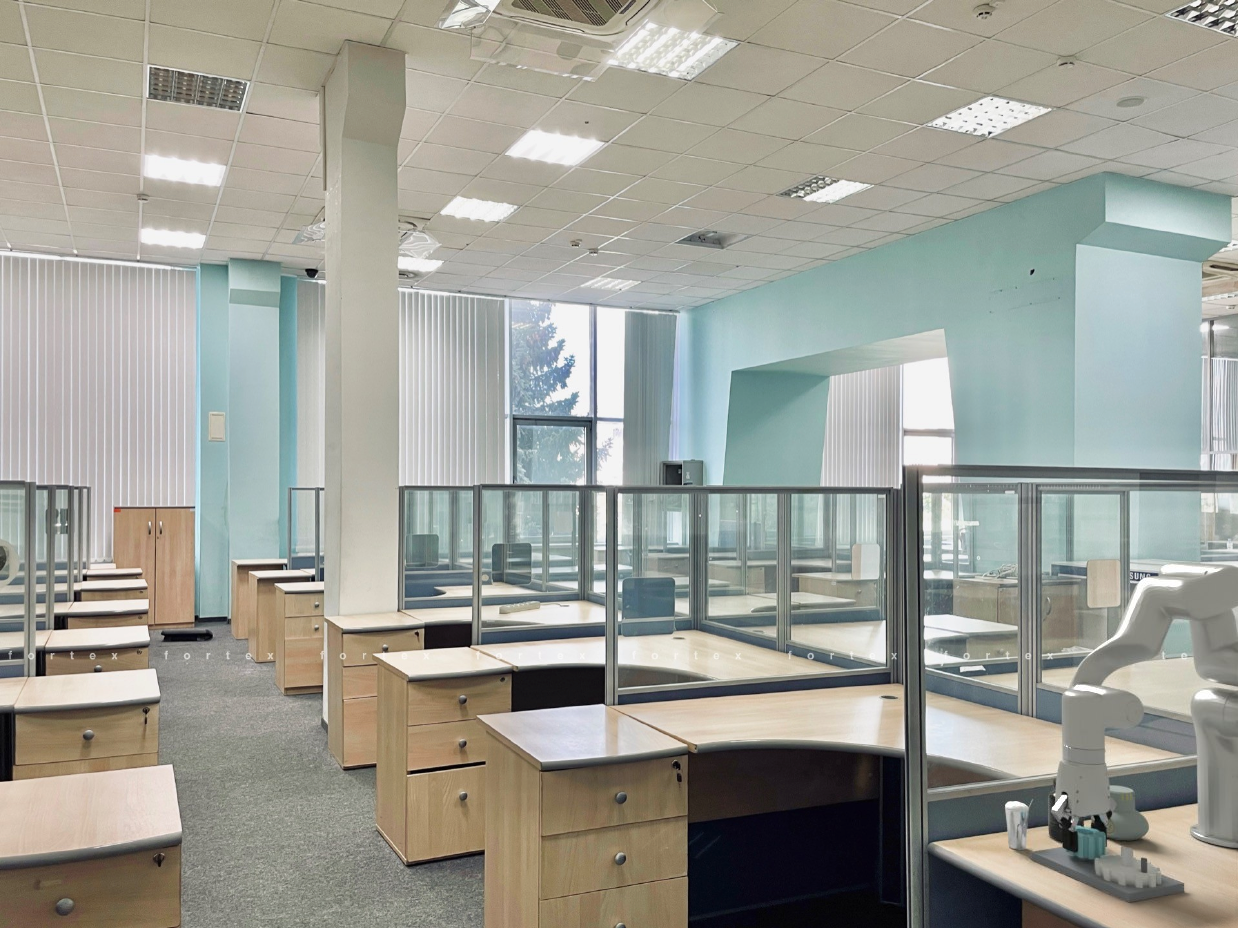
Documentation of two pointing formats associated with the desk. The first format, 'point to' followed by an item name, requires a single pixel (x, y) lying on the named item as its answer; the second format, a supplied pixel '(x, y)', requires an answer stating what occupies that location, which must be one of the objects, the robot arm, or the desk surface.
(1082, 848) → the gear
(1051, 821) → the supplement bottle
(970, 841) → the desk surface
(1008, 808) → the milkshake
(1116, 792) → the air freshener
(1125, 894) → the gear board
